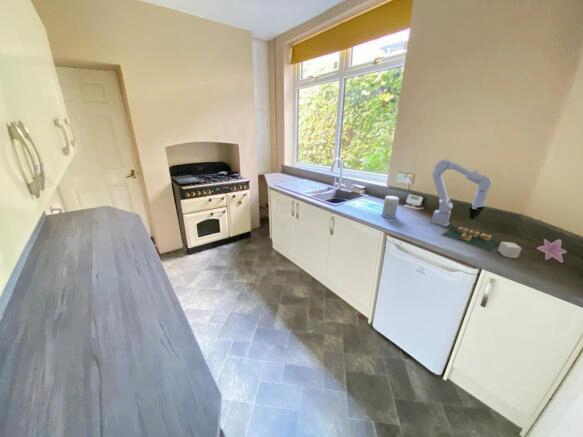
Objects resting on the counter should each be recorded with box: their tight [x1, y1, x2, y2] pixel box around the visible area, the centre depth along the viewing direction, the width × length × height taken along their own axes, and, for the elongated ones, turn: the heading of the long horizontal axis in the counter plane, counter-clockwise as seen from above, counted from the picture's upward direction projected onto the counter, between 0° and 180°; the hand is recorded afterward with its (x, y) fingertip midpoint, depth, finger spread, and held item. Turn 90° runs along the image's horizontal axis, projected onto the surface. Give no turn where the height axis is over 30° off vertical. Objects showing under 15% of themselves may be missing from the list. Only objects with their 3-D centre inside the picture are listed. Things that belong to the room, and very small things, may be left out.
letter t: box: [468, 229, 480, 237], centre depth 146 cm, size 4×4×2 cm
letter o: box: [460, 233, 472, 241], centre depth 140 cm, size 4×4×2 cm
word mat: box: [442, 227, 499, 251], centre depth 143 cm, size 24×20×1 cm
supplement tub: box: [381, 195, 400, 219], centre depth 172 cm, size 10×10×15 cm
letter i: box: [457, 226, 469, 234], centre depth 150 cm, size 4×4×2 cm
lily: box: [536, 238, 568, 264], centre depth 122 cm, size 12×12×10 cm
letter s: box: [480, 233, 492, 241], centre depth 141 cm, size 4×4×2 cm
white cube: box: [497, 241, 523, 259], centre depth 124 cm, size 6×6×6 cm
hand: (473, 217), depth 150 cm, fingers open, 7 cm apart
